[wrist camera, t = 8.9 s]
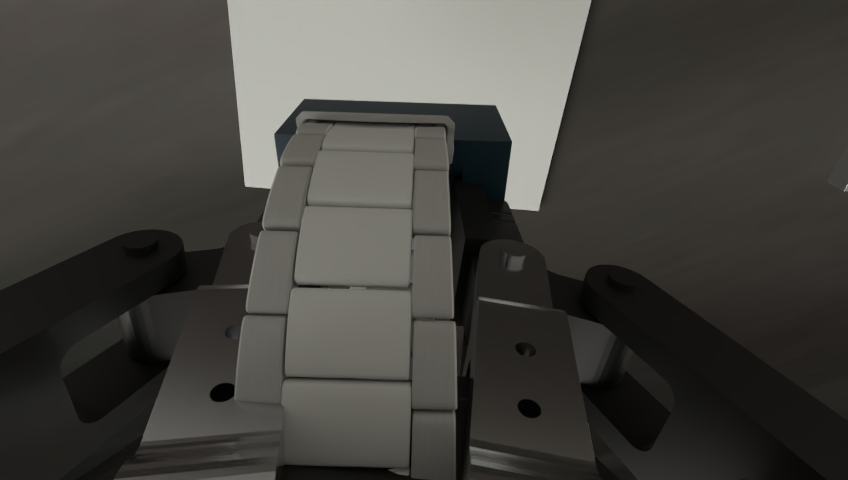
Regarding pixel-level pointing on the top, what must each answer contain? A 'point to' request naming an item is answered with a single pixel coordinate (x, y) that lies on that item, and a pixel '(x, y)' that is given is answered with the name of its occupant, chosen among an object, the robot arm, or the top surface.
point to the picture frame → (840, 172)
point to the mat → (409, 68)
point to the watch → (365, 280)
